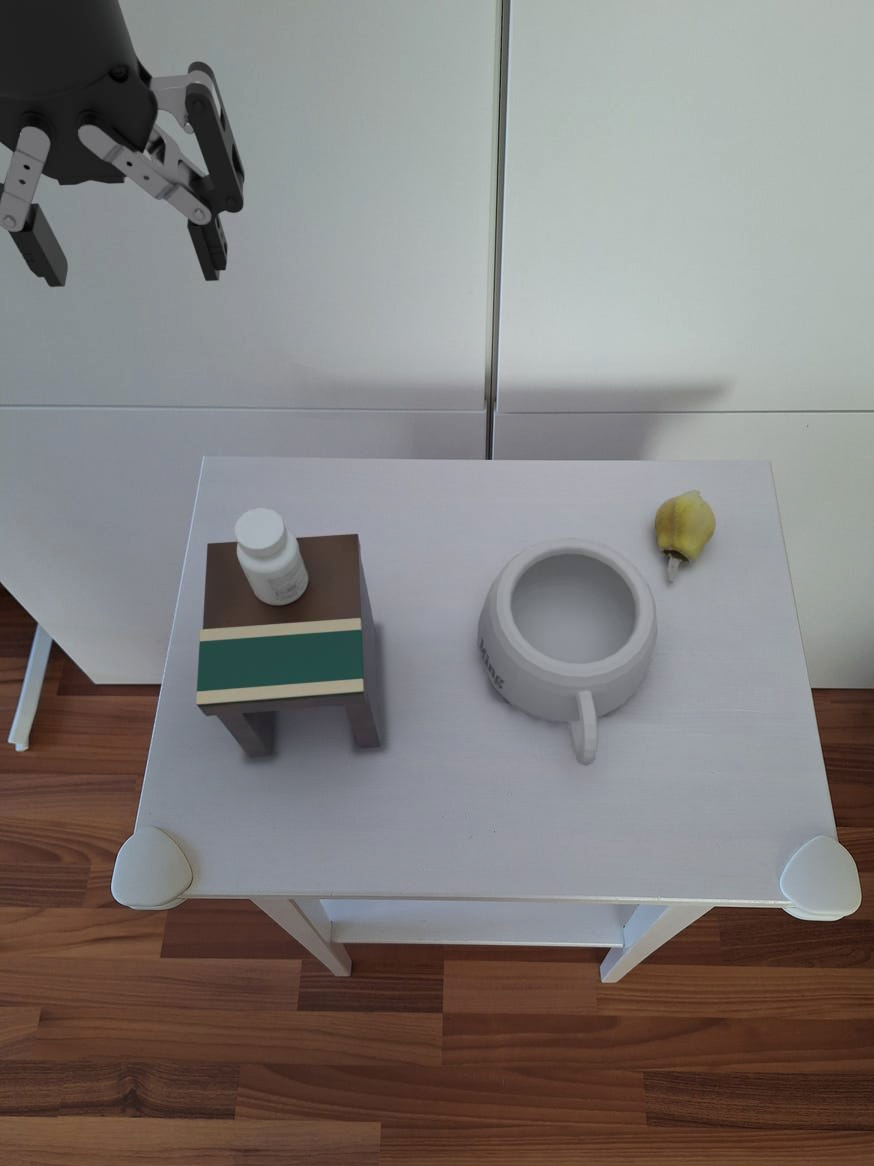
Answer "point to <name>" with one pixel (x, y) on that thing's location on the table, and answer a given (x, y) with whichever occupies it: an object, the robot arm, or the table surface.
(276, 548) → the pill bottle
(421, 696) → the table surface
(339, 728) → the table surface
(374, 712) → the stool
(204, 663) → the towel
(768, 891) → the table surface
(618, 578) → the mug
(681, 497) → the fruit
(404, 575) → the table surface
